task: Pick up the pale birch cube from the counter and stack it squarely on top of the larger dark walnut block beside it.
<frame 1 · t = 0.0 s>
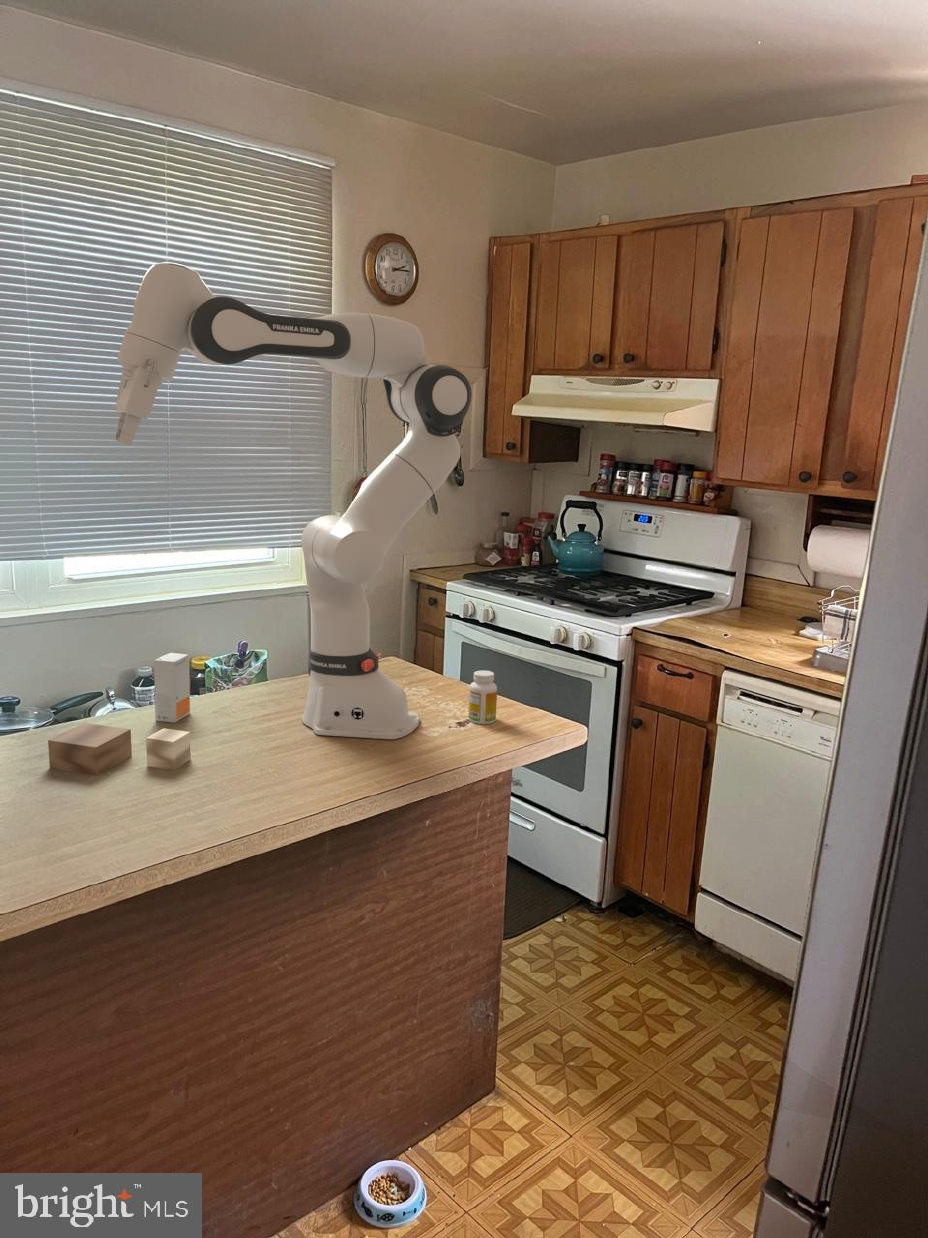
hand: (122, 442, 146), 52 cm above the countertop, tool tilted 20°, fingers open, 8 cm apart
supplement bottle: (481, 721, 176), on the countertop
birch cube: (169, 763, 149), on the countertop
walnut block: (91, 763, 149), on the countertop
skincare box: (173, 718, 171), on the countertop
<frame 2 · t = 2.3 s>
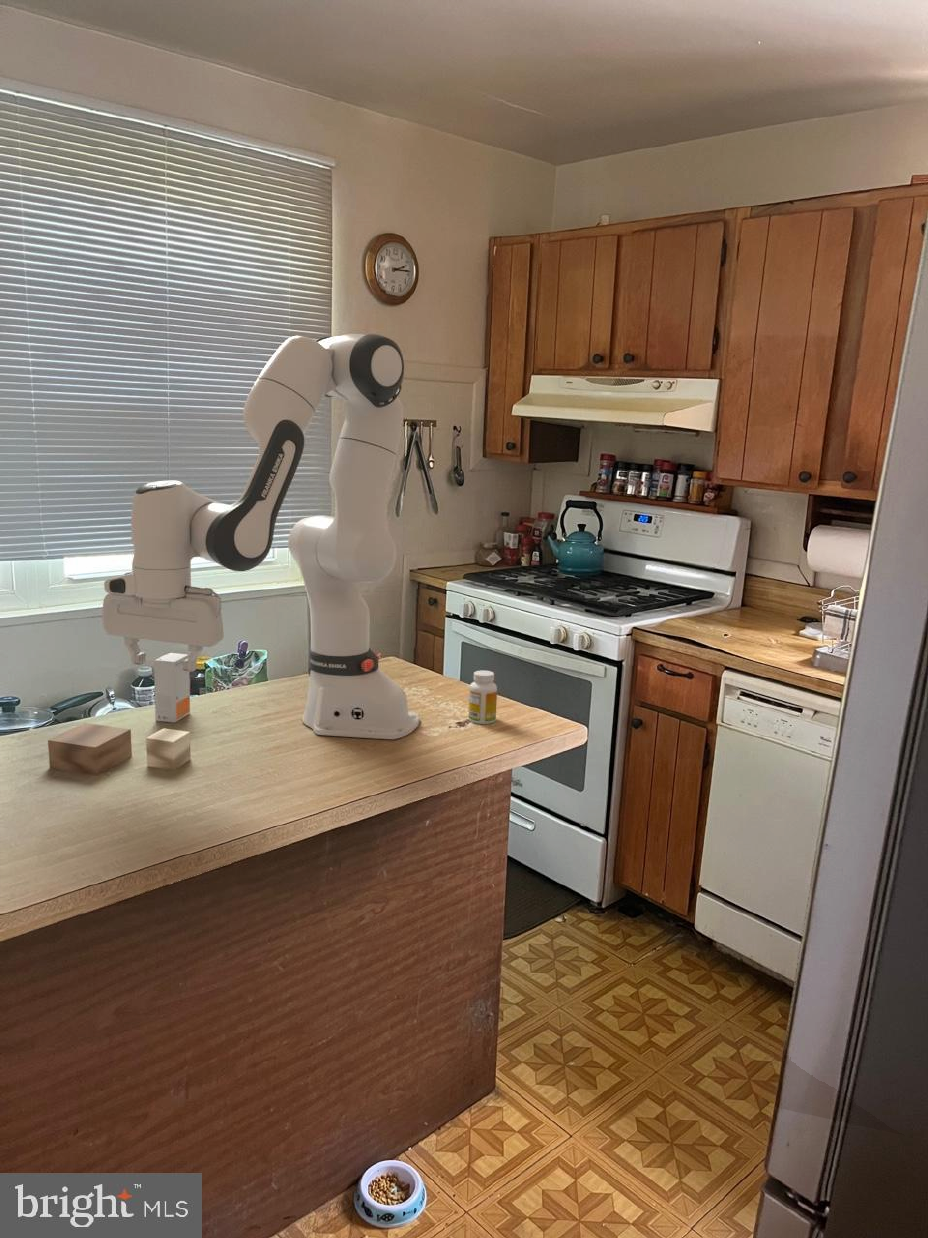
hand: (164, 667, 146), 17 cm above the countertop, tool pointing down, fingers open, 8 cm apart
nothing on the countertop moved.
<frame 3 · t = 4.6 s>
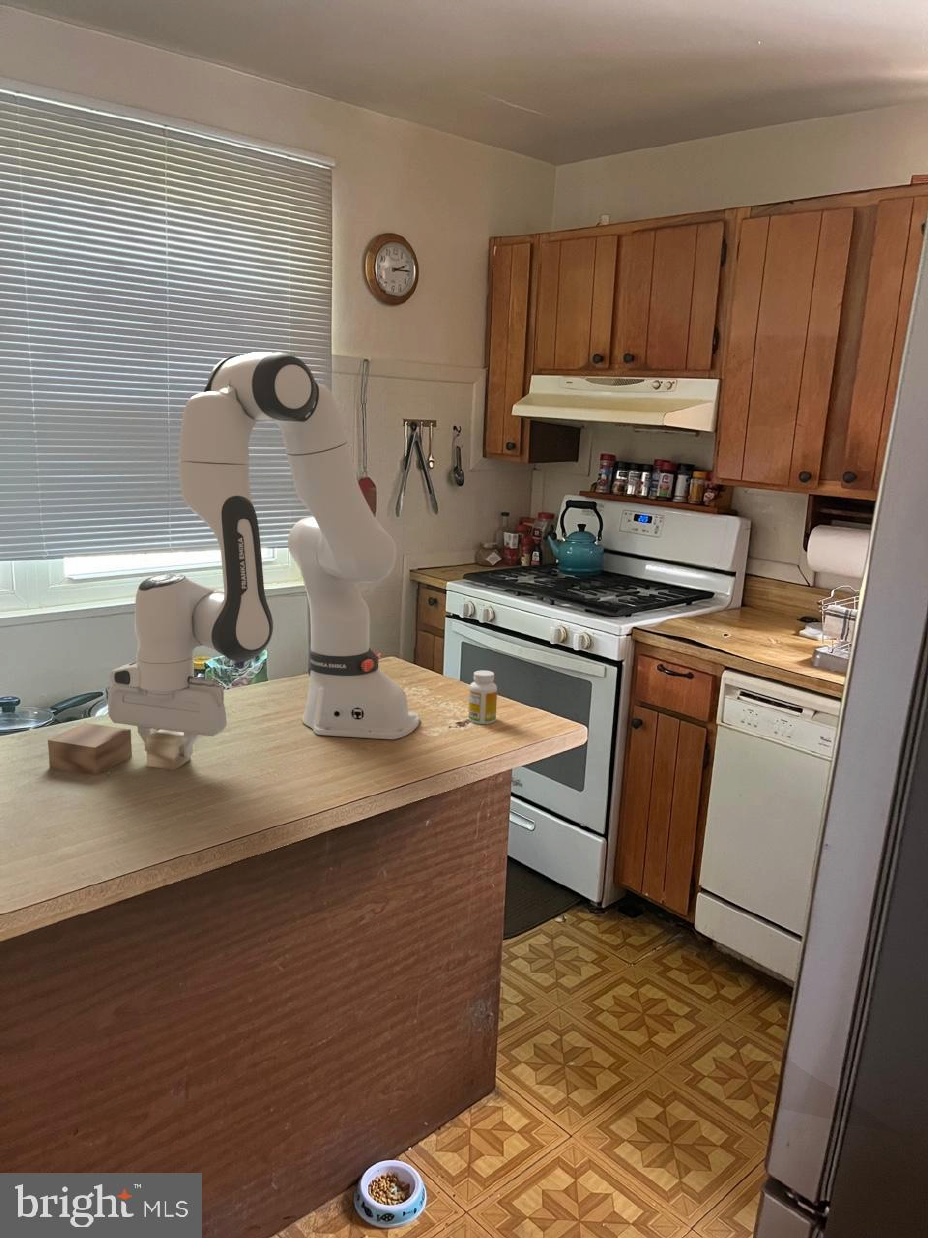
hand: (168, 753, 149), 2 cm above the countertop, tool pointing down, fingers closed on birch cube, 5 cm apart
birch cube: (169, 762, 149), on the countertop, touching gripper
everything else where it was.
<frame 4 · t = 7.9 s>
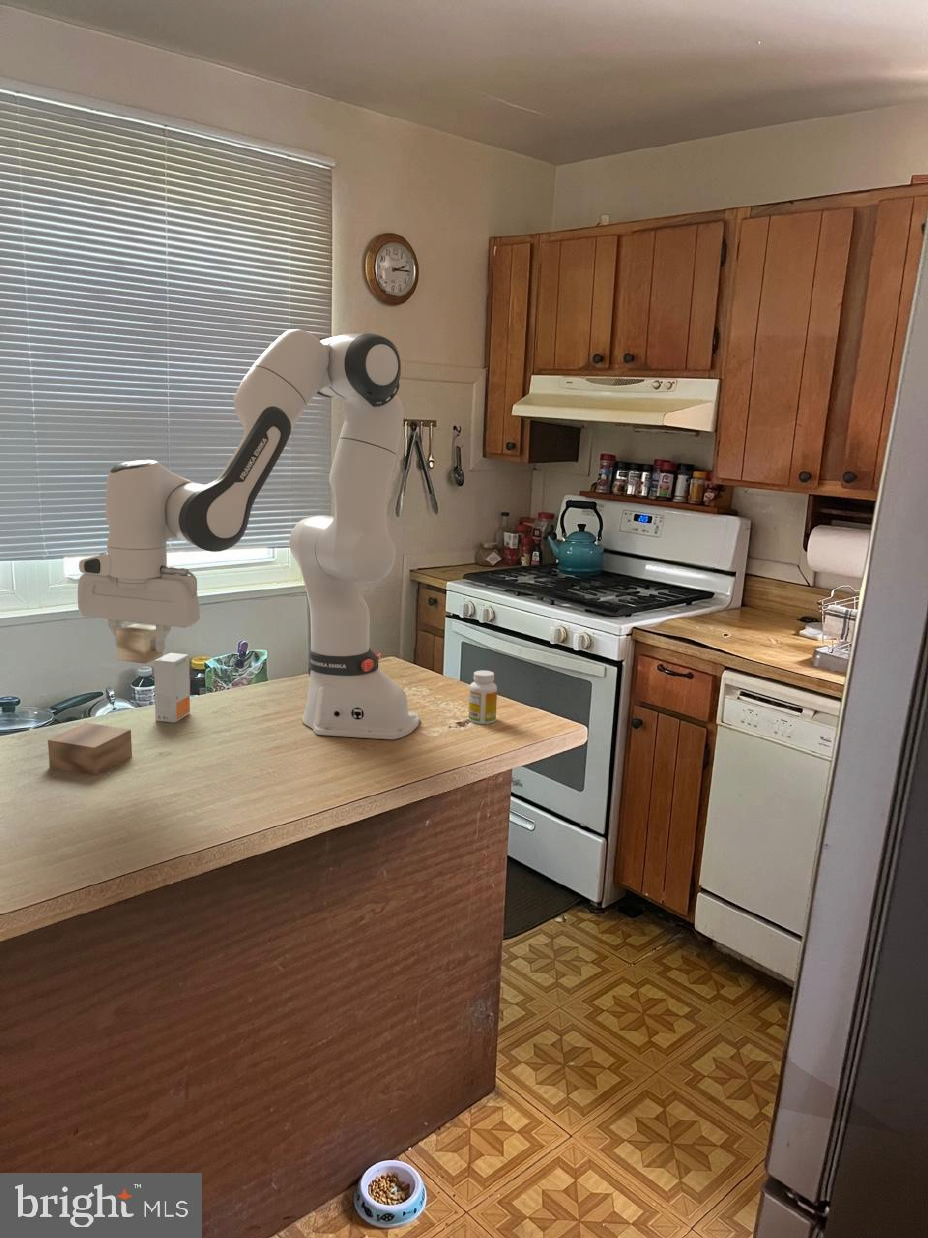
hand: (140, 648, 145), 20 cm above the countertop, tool pointing down, fingers closed on birch cube, 5 cm apart
birch cube: (140, 658, 145), point 18 cm above the countertop, touching gripper
everything else where it was.
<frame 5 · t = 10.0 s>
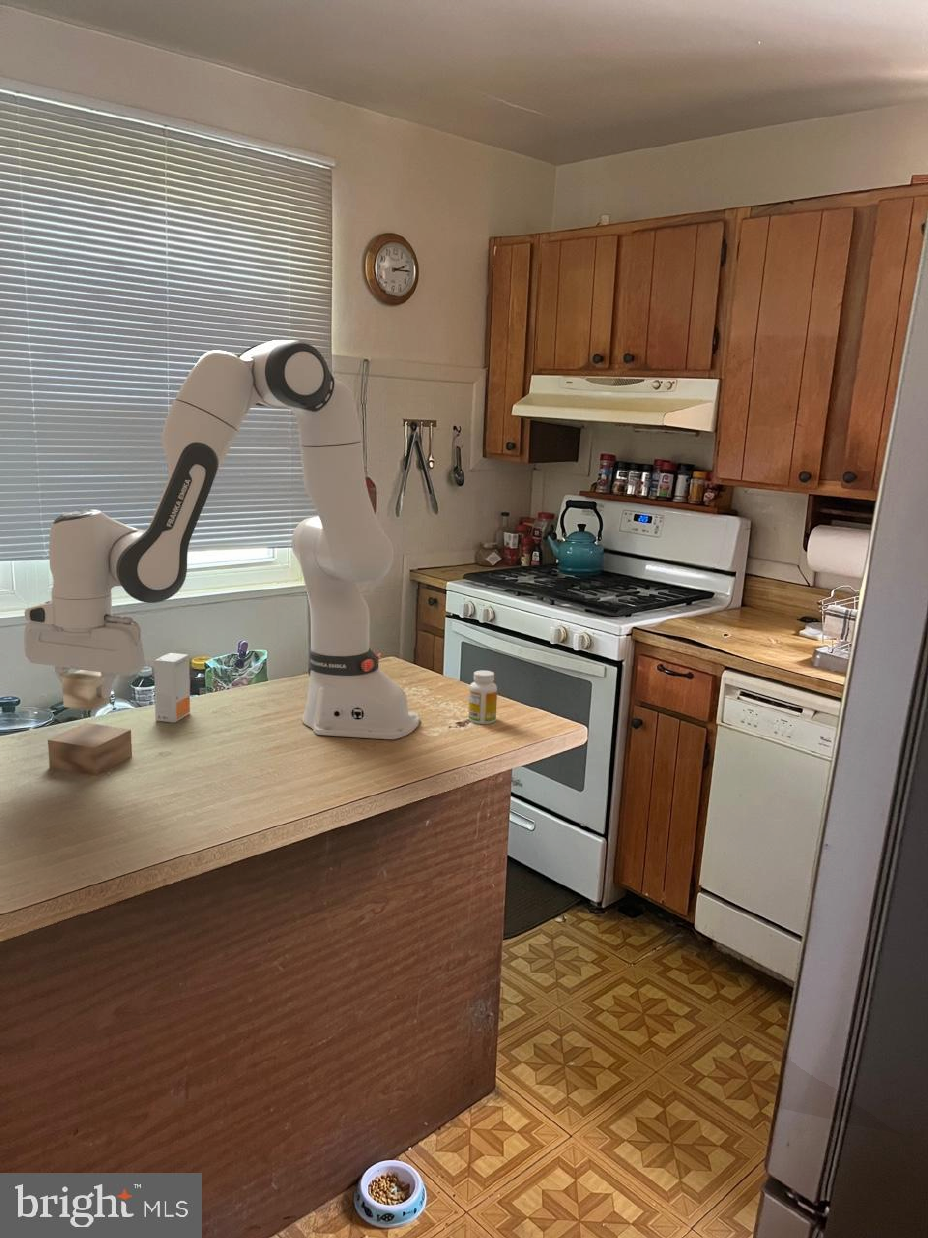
hand: (86, 694, 146), 12 cm above the countertop, tool pointing down, fingers closed on birch cube, 5 cm apart
birch cube: (87, 704, 146), point 10 cm above the countertop, touching gripper
everything else where it was.
when the fingers open (8 cm above the countertop, at t = 11.5 s): birch cube drops 2 cm, resting on walnut block.
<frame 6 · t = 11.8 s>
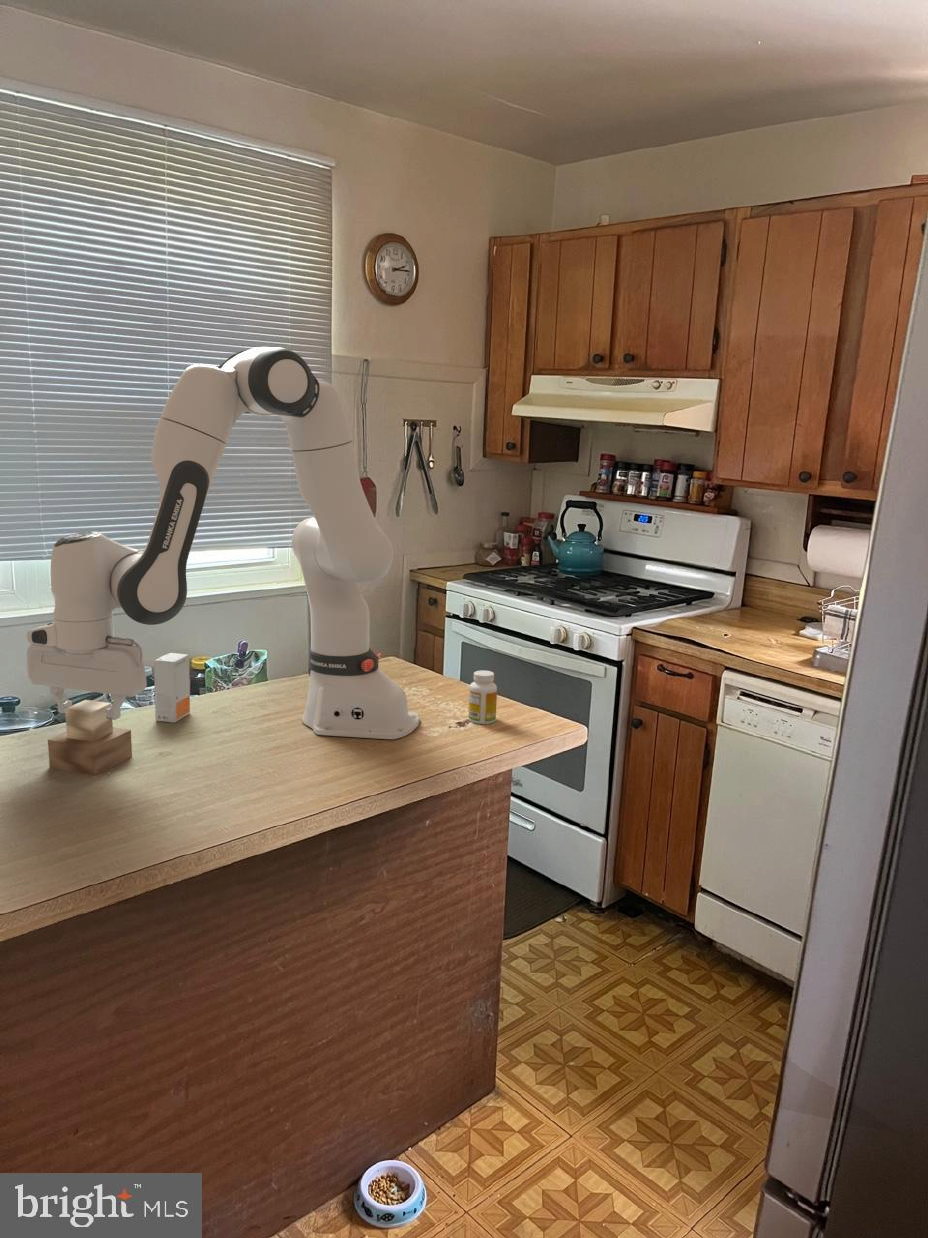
hand: (89, 715, 147), 8 cm above the countertop, tool pointing down, fingers open, 8 cm apart
birch cube: (90, 734, 148), point 5 cm above the countertop, touching walnut block
walnut block: (91, 763, 149), on the countertop, touching birch cube
everything else where it was.
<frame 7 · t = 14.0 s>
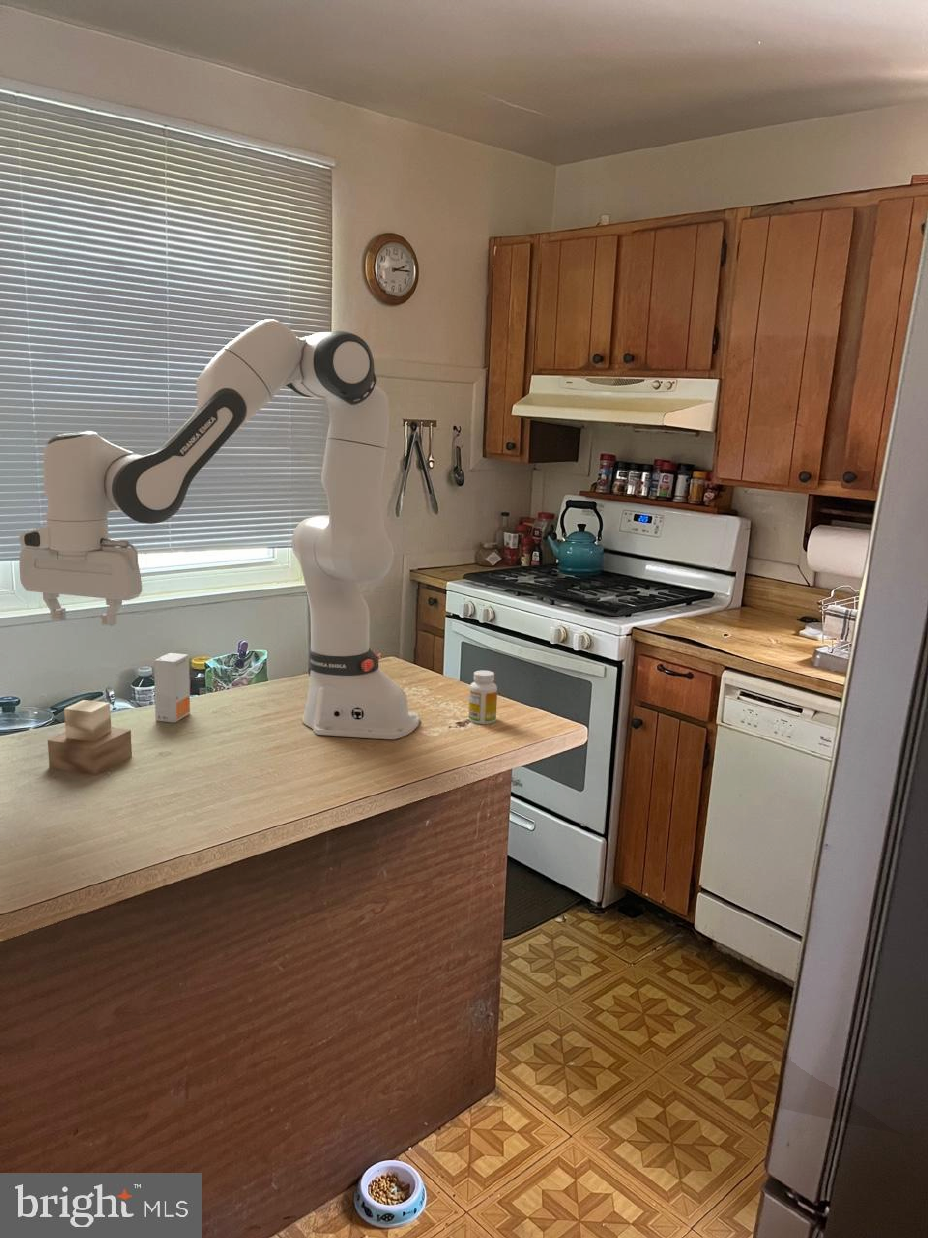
hand: (83, 622, 143), 24 cm above the countertop, tool pointing down, fingers open, 8 cm apart
nothing on the countertop moved.
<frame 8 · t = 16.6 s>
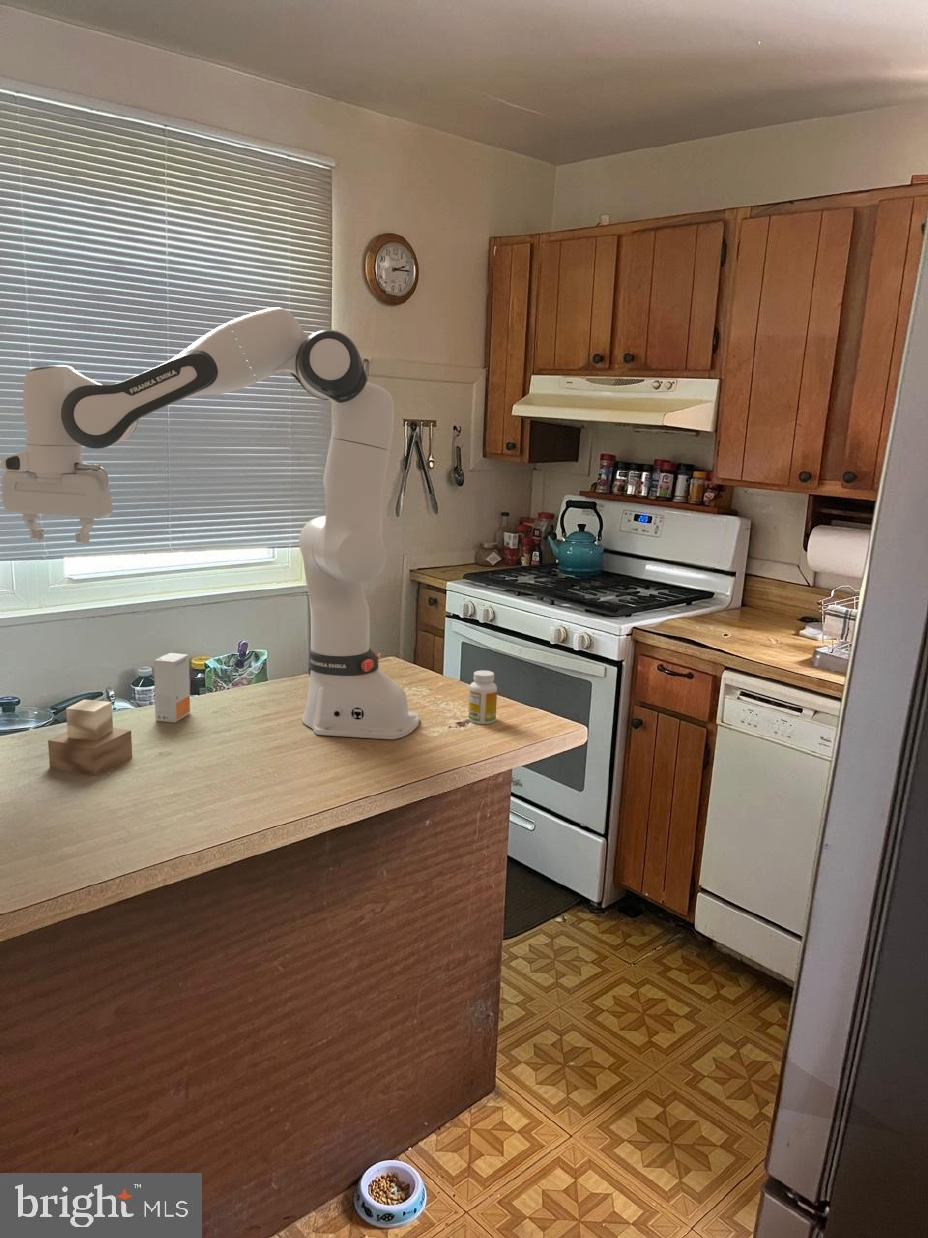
hand: (59, 541, 158), 34 cm above the countertop, tool pointing down, fingers open, 8 cm apart
nothing on the countertop moved.
at the end: birch cube 0.4 cm off-centre on the walnut block, point 5.0 cm above the walnut block's base; birch cube tilted 0°; the gripper is holding nothing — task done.
